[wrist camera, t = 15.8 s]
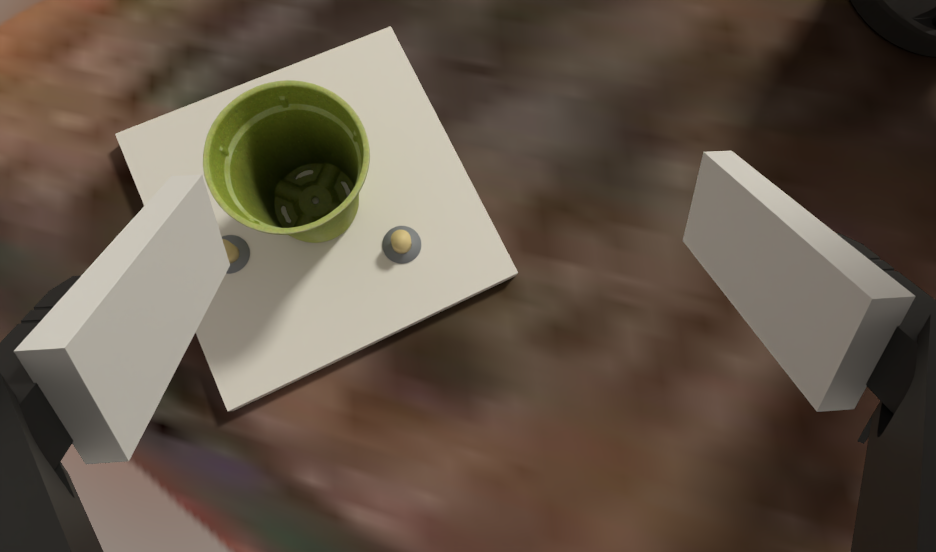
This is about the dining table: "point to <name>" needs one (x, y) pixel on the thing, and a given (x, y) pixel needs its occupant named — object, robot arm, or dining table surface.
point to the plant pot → (288, 160)
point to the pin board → (350, 254)
